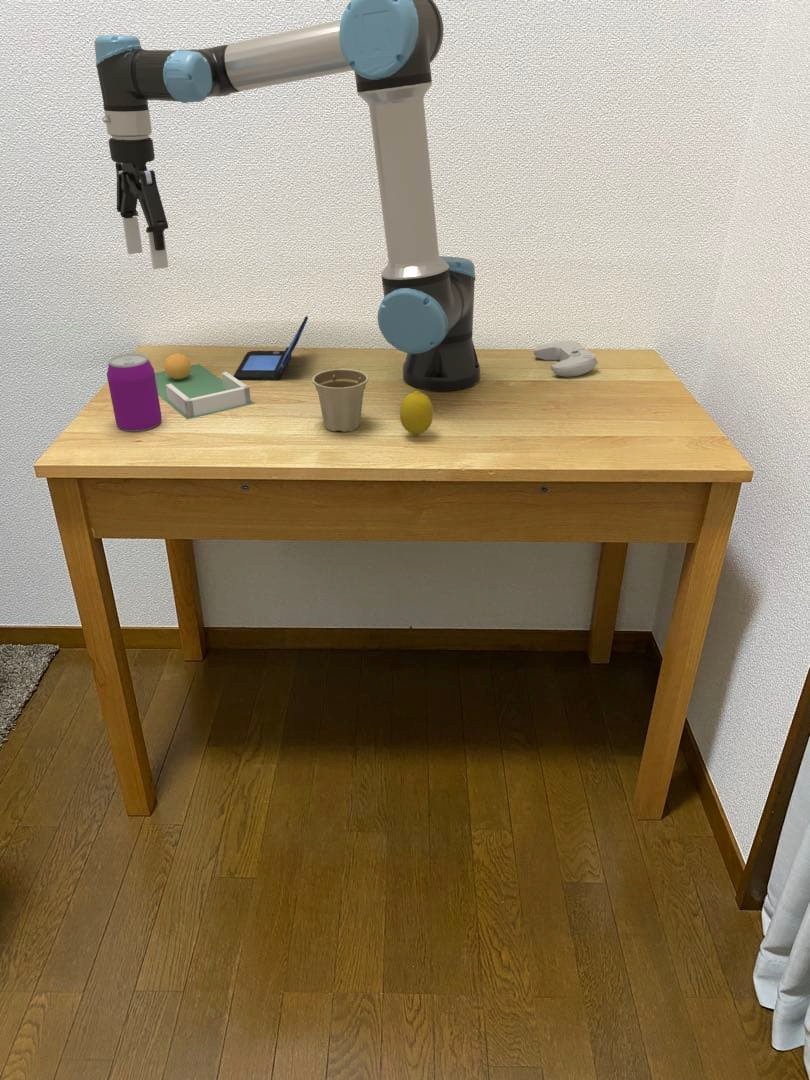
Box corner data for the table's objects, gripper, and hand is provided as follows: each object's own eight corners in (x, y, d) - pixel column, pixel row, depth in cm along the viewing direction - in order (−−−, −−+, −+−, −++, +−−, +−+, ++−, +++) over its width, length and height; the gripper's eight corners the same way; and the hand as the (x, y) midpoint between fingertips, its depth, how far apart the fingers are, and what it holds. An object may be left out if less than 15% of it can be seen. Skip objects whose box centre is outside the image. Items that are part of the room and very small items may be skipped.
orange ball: (196, 379, 166) (193, 355, 163) (172, 385, 163) (168, 360, 161) (186, 372, 169) (183, 348, 167) (162, 377, 167) (158, 352, 164)
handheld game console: (248, 357, 179) (244, 313, 175) (311, 357, 179) (308, 314, 174) (232, 383, 166) (227, 337, 161) (300, 384, 166) (297, 337, 161)
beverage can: (115, 420, 150) (102, 354, 144) (159, 414, 152) (149, 349, 146) (119, 437, 144) (105, 369, 137) (165, 430, 146) (154, 363, 140)
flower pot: (333, 411, 153) (331, 365, 149) (379, 420, 149) (378, 373, 145) (304, 430, 146) (301, 382, 141) (351, 440, 142) (349, 391, 138)
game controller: (528, 343, 177) (573, 329, 177) (531, 363, 179) (575, 349, 180) (554, 366, 165) (602, 351, 165) (557, 387, 167) (604, 372, 168)
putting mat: (254, 405, 156) (254, 403, 155) (187, 421, 149) (187, 419, 149) (199, 365, 174) (198, 363, 174) (137, 378, 168) (136, 376, 167)
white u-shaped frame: (251, 403, 155) (249, 387, 154) (188, 417, 150) (186, 401, 148) (228, 386, 163) (226, 371, 161) (168, 400, 157) (165, 384, 155)
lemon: (433, 429, 146) (434, 385, 142) (431, 443, 141) (432, 397, 137) (401, 428, 146) (401, 384, 142) (398, 442, 142) (398, 396, 137)
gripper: (87, 130, 157) (106, 249, 168) (133, 145, 139) (151, 277, 150) (127, 128, 160) (143, 245, 171) (177, 143, 143) (192, 271, 154)
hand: (147, 260), depth 161 cm, fingers open, 13 cm apart
